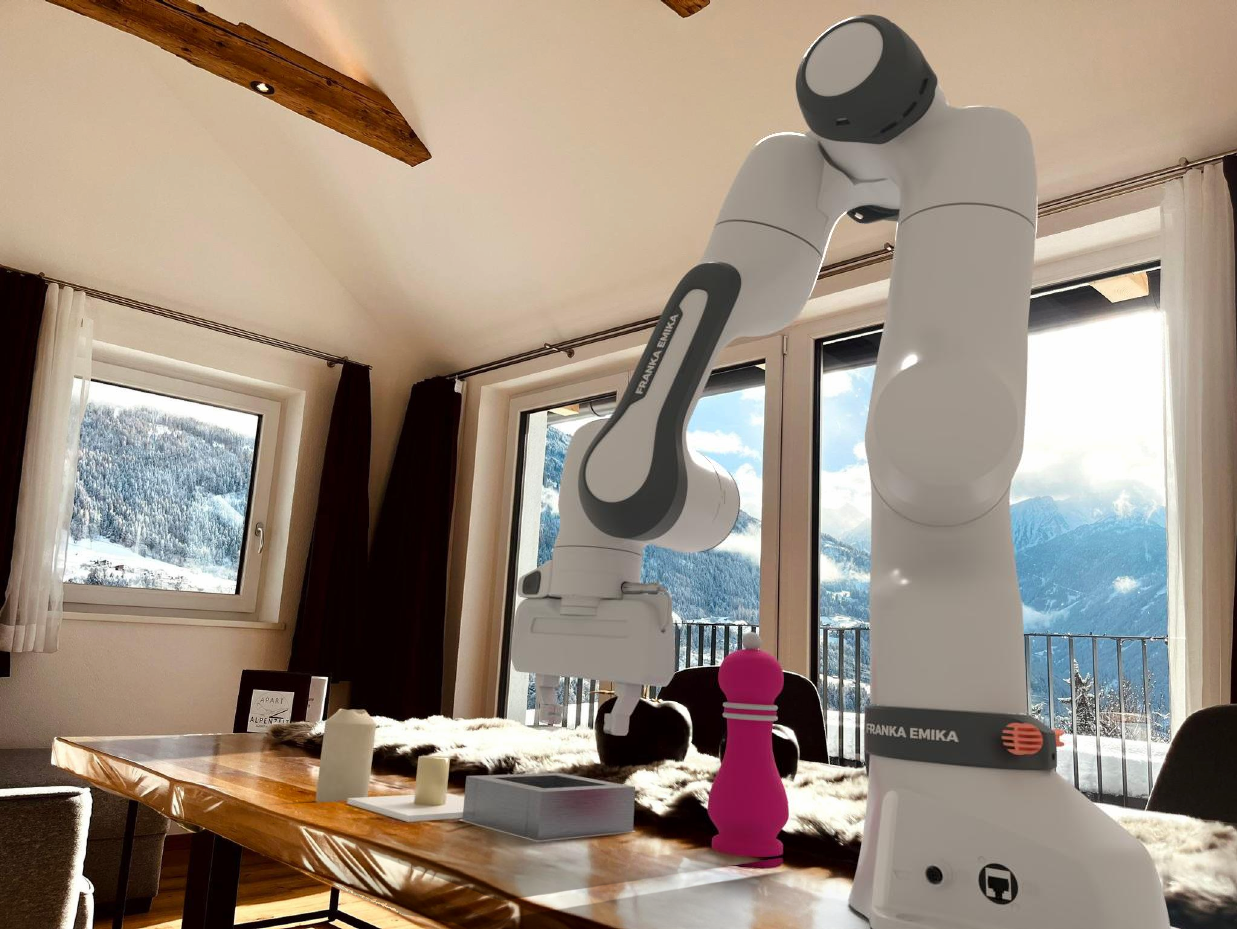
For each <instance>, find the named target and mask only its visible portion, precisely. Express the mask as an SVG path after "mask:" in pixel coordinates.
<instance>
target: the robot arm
mask: <svg viewBox="0 0 1237 929" xmlns="http://www.w3.org/2000/svg"><path fill="white" fill-rule="evenodd" d="M795 93H796V98H797V102H798V106H799V108H800V109H799V110H800V111H801V114H802V117H803V119H804V121H805V123H806V125H807V126H808V128H809V131H806V132H804V133H803V134H801V133H795V132H781V133H780V132H779V133H775V134H772V135H769V136H767V137H765V138H763V139H761V140H760V141H758V142H757V143H756V144H755V145H754V146H753V147H752V149H751V150H750V151H749V153H748V155H747V156H746V158H745V159H744V162H743V163H742V165H741V166H740V168H739V170H738V172H737V175H736V176H735V178H734V179H733V181H732V184H731V186H730V187H729V189H728V192H727V195H726V197H725V198H724V201H723V203H722V206H721V208H720V210H719V213H718V215H717V217H716V221H715V224H714V226H713V229H712V231H711V236H709V240H708V241H707V242H708V243H707V245H706V247H705V249H704V251H703V254H702V256H701V258H700V259H699V261H698V263H697V265H695V266H694V267H692V268H691V269H689V271H688V272H687V273H686V274H684V276H683V277H682V278H681V280H680V281H679V283H678V284H677V285H676V287H675V288H674V290H673V292H672V294H671V295H670V297H669V299H668V301H667V302H666V304H665V307H664V309H663V310H662V313H661V315H660V316H659V319H658V320H657V322H656V325H655V327H654V329H653V331H652V333H651V336H650V338H649V339H648V342H647V344H646V345H645V348H644V350H643V352H642V355H641V357H640V359H639V361H638V363H637V365H636V367H635V369H634V372H633V374H632V376H631V378H630V380H629V382H628V384H627V386H626V388H625V391H624V392H623V395H622V397H621V399H620V401H619V402H618V404H617V406H616V407H615V409H614V411H613V413H612V414H611V416H609V417H606V418H599V419H596V420H592V421H589V422H587V423H585V424H583V425H581V426H580V427H578V428H577V429H576V430H575V432H574V433H573V435H572V437H571V439H570V441H569V444H568V446H567V449H566V453H565V456H564V461H563V467H562V472H561V478H560V485H559V494H558V501H557V502H558V503H557V507H558V508H557V509H558V514H559V519H560V520H559V529H558V532H557V533H558V534H557V536H556V537H555V538H556V539H555V540H554V544H553V551H552V559H549V560H547V561H546V562H544V563H543V564H542V565H539V566H538V567H536V568H535V569H532V570H530V571H529V572H527V573H525V574H523V575H522V576H520V578H519V579H518V581H517V595H518V597H520V598H524V599H523V600H521V601H520V603H519V605H518V606H517V608H516V611H515V615H514V619H513V620H514V623H513V628H512V635H511V636H512V638H511V647H510V660H511V664H512V666H513V668H514V670H515V671H516V672H519V673H527V674H528V673H529V674H534V684H533V685H534V689H535V691H536V692H535V693H536V696H537V699H538V702H539V703H538V704H540V706H539V715H538V720H539V722H540V723H543V724H546V725H547V724H549V725H560V724H561V723H562V721H563V714H564V706H563V705H559V702H558V695H557V691H556V688H559V687H560V680H561V677H565V678H573V679H584V680H595V681H602V682H613V683H614V690H613V695H615V696H617V699H616V701H615V703H614V705H613V708H612V710H611V712H610V713H604V719H603V720H604V724H603V732H604V733H605V734H608V735H610V736H611V735H612V736H624V737H625V736H627V734H628V733H629V726H630V716H631V715H632V714H633V712H634V710H635V708H636V707H637V705H638V703H639V701H640V699H642V698H641V697H642V686H651V687H665V688H666V687H667V686H668V685H669V684H670V682H671V681H672V679H673V678H674V676H675V668H676V644H675V643H676V642H675V638H676V637H675V625H674V618H673V604H674V603H673V597H672V595H671V594H670V593H669V591H668V590H667V589H666V588H665V587H663V585H662V584H661V583H660V582H655V581H650V582H646V583H645V582H641V577H642V576H641V575H642V563H643V554H644V553H643V552H644V549H645V548H646V547H648V546H650V545H651V546H655V547H659V548H663V549H668V550H671V551H675V552H678V553H683V554H691V553H692V554H694V553H702V552H707V551H710V550H713V549H715V548H716V547H718V546H719V545H721V544H722V543H723V542H724V541H725V540H726V539H727V538H728V537H729V535H730V534H731V533H732V531H733V530H734V528H735V525H737V524H736V523H737V521H738V518H739V514H740V508H741V496H740V491H739V488H738V484H737V483H736V481H735V479H734V477H733V476H732V475H731V473H730V472H729V471H728V470H726V469H725V468H724V467H723V466H721V465H720V464H719V463H718V462H716V461H715V460H714V459H712V458H710V457H708V456H706V454H703V453H701V452H699V451H697V450H695V449H692V448H691V447H689V446H688V443H687V431H688V426H689V423H690V420H691V418H692V416H693V414H694V412H695V409H696V407H697V405H698V403H699V400H700V398H701V396H702V394H703V391H704V390H705V387H706V385H707V383H708V380H709V379H710V376H711V373H712V371H713V369H714V366H715V365H716V362H717V360H718V358H719V357H720V354H721V353H722V352H723V350H724V349H725V348H726V347H727V345H729V344H730V343H731V342H733V341H734V340H736V339H738V338H741V337H744V338H745V337H746V338H747V337H750V338H751V337H752V338H753V337H754V338H755V337H756V338H757V337H763V336H768V335H771V334H772V335H773V334H774V333H777V332H779V331H781V330H784V329H785V328H786V327H788V326H790V325H792V323H795V321H796V320H797V319H798V318H799V316H800V315H801V313H802V311H803V310H804V308H805V306H806V305H807V303H808V301H809V299H810V297H811V294H812V292H813V290H814V288H815V285H816V281H817V279H818V276H819V273H820V270H821V268H822V265H823V264H822V263H823V261H824V258H825V255H826V251H827V248H828V245H829V242H830V239H831V236H832V233H833V231H834V228H835V226H836V224H838V221H839V220H840V219H841V218H842V217H843V216H844V215H845V214H846V215H847V216H849V218H851V219H852V220H853V221H855V222H856V223H859V224H864V225H866V224H867V225H869V224H873V223H877V222H880V221H881V222H882V221H886V222H897V224H896V230H895V240H894V247H893V255H892V264H891V270H890V279H889V287H888V296H887V304H886V309H885V310H886V312H885V316H884V317H885V318H884V324H883V328H882V335H881V338H880V344H879V349H878V353H877V359H876V365H875V370H874V374H873V382H872V387H871V393H870V400H869V405H868V411H867V417H866V418H867V419H866V424H865V431H864V432H865V433H864V447H865V448H864V449H865V454H866V455H865V456H866V458H867V465H868V472H869V477H870V478H869V479H870V491H871V493H870V494H871V495H870V496H871V504H870V506H871V509H870V510H871V514H870V515H871V520H870V522H871V523H870V524H871V525H870V528H871V529H870V530H871V531H870V533H871V534H870V576H869V578H870V580H869V581H870V582H869V689H870V690H869V692H870V694H869V698H870V699H869V703H870V704H867V705H865V706H864V717H863V718H864V719H863V720H864V721H863V722H864V724H863V726H864V727H863V754H864V755H863V756H864V766H865V771H866V776H867V778H868V779H867V780H868V781H867V795H866V807H865V815H864V823H863V833H862V838H861V845H860V851H859V856H858V862H857V866H856V870H855V875H854V879H853V882H852V886H851V890H850V891H849V892H850V893H849V896H848V900H847V901H848V904H849V906H851V907H852V908H853V909H854V910H855V911H857V912H859V913H860V914H862V915H864V916H865V917H866V918H867V919H868V920H869V926H870V928H872V929H1180V928H1178V927H1175V926H1171V923H1170V917H1169V913H1168V908H1167V903H1166V899H1165V895H1164V891H1163V886H1162V882H1161V879H1160V876H1159V872H1158V870H1157V868H1156V865H1155V861H1154V860H1153V858H1152V856H1151V853H1150V852H1149V850H1148V849H1147V847H1146V846H1145V845H1144V844H1143V842H1141V840H1140V839H1139V838H1137V837H1136V836H1135V835H1134V834H1132V833H1131V832H1130V831H1129V830H1127V828H1125V827H1124V826H1122V825H1121V824H1120V823H1119V822H1117V820H1115V819H1114V818H1113V817H1111V816H1110V815H1108V814H1107V813H1106V812H1105V811H1104V810H1103V809H1102V808H1100V807H1099V806H1098V805H1096V804H1095V803H1094V802H1093V801H1091V800H1090V799H1089V798H1088V797H1087V796H1086V795H1085V794H1083V793H1082V792H1081V791H1080V790H1078V789H1077V788H1076V787H1074V786H1073V785H1072V784H1071V783H1070V782H1069V781H1068V780H1066V779H1065V778H1064V776H1062V775H1060V773H1058V772H1057V771H1056V770H1054V769H1055V768H1058V751H1057V750H1058V748H1059V747H1060V748H1061V747H1064V746H1065V742H1063V741H1061V740H1060V737H1062V736H1063V735H1064V734H1065V731H1064V730H1062V729H1052V728H1050V726H1047V725H1046V724H1044V723H1043V722H1042V721H1040V720H1039V719H1037V718H1035V717H1034V716H1032V715H1031V714H1028V701H1027V700H1028V697H1027V696H1028V694H1027V679H1026V677H1027V676H1026V673H1027V672H1026V655H1025V636H1024V635H1025V633H1024V630H1025V629H1024V614H1023V613H1024V612H1023V610H1024V609H1023V602H1022V597H1021V592H1020V591H1021V590H1020V586H1019V579H1018V572H1017V571H1018V570H1017V565H1016V564H1017V562H1016V556H1015V546H1014V540H1013V530H1012V529H1013V528H1012V516H1011V504H1010V496H1011V494H1010V493H1011V488H1012V487H1011V486H1012V480H1013V479H1014V476H1015V474H1016V471H1017V470H1018V468H1019V465H1020V463H1021V460H1022V457H1023V453H1024V452H1023V451H1024V443H1025V442H1024V441H1025V439H1024V438H1025V429H1026V428H1025V427H1026V409H1027V407H1026V406H1027V390H1028V388H1027V387H1028V383H1027V382H1028V363H1029V362H1028V360H1029V359H1028V358H1029V355H1028V353H1029V352H1028V351H1029V350H1028V348H1029V343H1028V342H1029V340H1028V338H1029V335H1028V334H1029V332H1028V331H1029V318H1030V305H1031V293H1032V283H1033V282H1032V281H1033V275H1034V274H1033V271H1034V262H1035V261H1034V260H1035V249H1036V238H1037V226H1038V177H1037V176H1038V175H1037V168H1036V167H1037V166H1036V165H1037V164H1036V158H1035V150H1034V146H1033V139H1032V136H1031V133H1030V131H1029V129H1028V127H1027V126H1026V124H1025V123H1024V122H1023V121H1022V120H1021V119H1020V118H1019V117H1018V116H1017V115H1015V114H1014V113H1011V112H1010V111H1008V110H1006V109H1002V108H1000V107H996V106H991V105H971V106H965V107H955V106H951V105H949V103H948V101H947V99H946V96H945V93H944V91H943V88H942V87H941V85H940V83H939V81H938V75H937V74H936V73H935V71H934V70H933V68H932V67H931V65H930V64H929V62H928V60H927V59H926V57H925V56H924V54H923V53H922V50H921V49H920V47H919V45H918V44H917V43H916V42H915V41H914V39H912V38H911V37H910V35H909V34H908V33H907V32H906V31H904V29H902V28H901V27H900V26H898V25H897V24H896V23H894V22H893V21H892V20H890V19H888V18H886V17H884V16H881V15H876V14H860V15H856V16H851V17H848V18H845V19H844V20H841V21H839V22H837V23H835V24H833V25H832V26H831V27H829V28H828V29H826V30H825V31H824V32H823V33H821V35H819V37H817V38H816V40H814V42H813V43H811V45H810V47H809V48H808V50H807V51H806V52H805V53H804V56H803V57H802V59H801V61H800V64H799V66H798V69H797V72H796V78H795ZM857 214H858V215H857ZM859 215H860V216H861V217H859ZM1057 747H1058V748H1057Z"/></svg>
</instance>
